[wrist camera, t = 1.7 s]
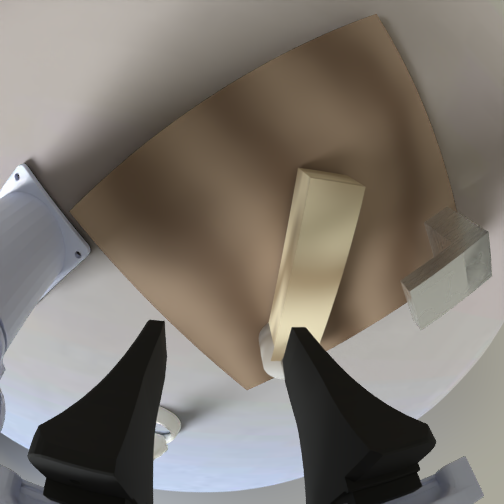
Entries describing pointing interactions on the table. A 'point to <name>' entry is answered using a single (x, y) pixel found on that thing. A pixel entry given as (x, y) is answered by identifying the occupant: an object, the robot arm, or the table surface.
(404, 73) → the base board
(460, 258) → the block
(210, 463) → the table surface
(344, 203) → the link
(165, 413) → the vr controller
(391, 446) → the robot arm
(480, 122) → the table surface
